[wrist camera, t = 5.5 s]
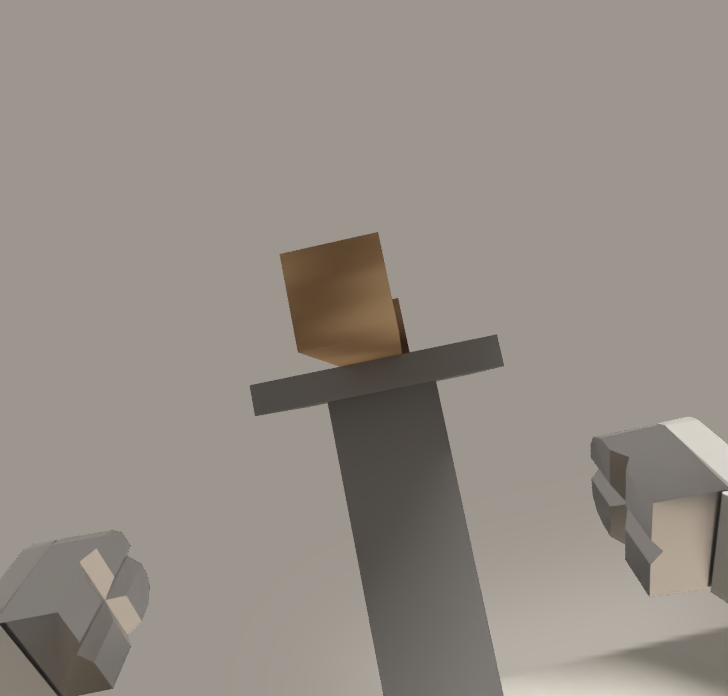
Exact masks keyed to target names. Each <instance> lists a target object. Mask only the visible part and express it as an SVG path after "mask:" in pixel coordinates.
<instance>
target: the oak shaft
mask: <svg viewBox="0 0 728 696" xmlns="http://www.w3.org/2000/svg"><path fill="white" fill-rule="evenodd" d="M280 259H281V263H282V269H283V275H284V280H285V285H286V291H287V296H288V301H289V307H290V312H291V318H292V323H293V328H294V334H295V339H296V344H297V350H298V352H299V353H302V354H305V355H308V356H310V357H313V358H316V359H319V360H322V361H325V362H328V363H331V364H334V365H337V366H340V367H342V366H346V365H351V364H356V363H361V362H366V361H371V360H375V359H380V358H385V357H390V356H395V355H400V354H405V353H409V348H408V344H407V338H406V334H405V329H404V324H403V319H402V315H401V310H400V305H399V300H398V298H396V299H392V297H391V292H390V287H389V283H388V278H387V273H386V268H385V263H384V258H383V254H382V249H381V244H380V240H379V234H378V232H376V233H372V234H367V235H363V236H358V237H354V238H350V239H345V240H341V241H337V242H332V243H327V244H323V245H318V246H314V247H309V248H306V249H300V250H296V251H292V252H287V253H283V254H280Z"/></svg>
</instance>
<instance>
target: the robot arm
mask: <svg viewBox="0 0 728 696" xmlns="http://www.w3.org/2000/svg"><path fill="white" fill-rule="evenodd" d="M591 458H592V460H593V461H594V462H595V464H596V465H597V467H598V468H599V469H598V471H597V472H596V473H595V475H594V476H593V478H592V491H593V498H594V501H595V505H596V509H597V512H598V514H599V516H600V518H601V520H602V523H603V525H604V526H605V528H606V529H607V531H608V533H609V534H610V536H611V537H612V538H614V539H616V540H618V541H620V542H621V543H623V544H625V560H626V561H627V563H628V564H629V566H630V568H631V569H632V571H633V572H634V574H635V575H636V577H637V578H638V580H639V581H640V583H641V585H642V586H643V588H644V589H645V591H646V592H647V594H648V595H649V597H655V596H662V595H669V594H676V593H683V592H690V591H697V590H704V589H711V592H712V593H713V594H715V595H717V596H718V597H719V598H721V599H723V600H724V601H725V602H727V603H728V445H727V444H726V443H725V442H724V441H723V440H721V439H720V438H719V437H718V436H717V435H715V434H714V433H713V432H712V431H711V430H709V429H708V428H707V427H706V426H704V425H703V424H702V423H701V422H700V421H699V420H697V419H695V418H692V417H685V418H680V419H675V420H671V421H666V422H661V423H657V424H656V425H651V426H646V427H641V428H636V429H631V430H626V431H621V432H616V433H611V434H606V435H601V436H596V437H593V439H592V442H591ZM130 546H131V545H130V544H129V542H128V541H127V539H126V538H125V536H124V535H123V533H122V532H118V531H113V530H111V531H105V532H99V533H94V534H88V535H82V536H76V537H70V538H64V539H60V540H55V541H49V542H43V543H38V544H33V545H32V546H30V547H28V548H26V549H24V550H23V551H22V552H21V553H20V555H19V556H18V557H17V558H16V560H15V561H14V562H13V564H12V565H11V566H10V567H9V569H8V570H7V571H6V572H5V574H4V575H3V576H2V578H1V579H0V696H79V695H84V694H89V693H94V692H99V691H103V690H109V689H113V687H114V685H115V683H116V680H117V678H118V676H119V673H120V671H121V669H122V666H123V664H124V662H125V659H126V657H127V655H128V652H129V650H130V648H131V646H130V642H129V639H128V634H129V633H130V632H131V631H132V630H133V629H134V628H135V627H136V626H137V625H138V624H139V623H140V622H141V621H142V619H143V617H144V614H145V612H146V609H147V606H148V601H149V590H150V586H149V581H148V577H147V573H146V571H145V570H144V568H143V566H142V564H141V563H139V562H137V561H136V560H134V559H132V558H130V557H128V553H129V549H130Z"/></svg>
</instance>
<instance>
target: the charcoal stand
mask: <svg viewBox="0 0 728 696" xmlns="http://www.w3.org/2000/svg"><path fill="white" fill-rule="evenodd" d="M502 366H504V364H503V359H502V355H501V351H500V346H499V342H498V337H497V335H492V336H487V337H482V338H477V339H472V340H468V341H463V342H459V343H453V344H448V345H444V346H439V347H434V348H429V349H424V350H419V351H415V352H409V353H405V354H400V355H395V356H390V357H385V358H380V359H375V360H371V361H366V362H361V363H356V364H351V365H346V366H342V367H337V368H332V369H327V370H323V371H317V372H312V373H308V374H303V375H298V376H293V377H288V378H284V379H279V380H274V381H269V382H264V383H259V384H254V385H250V390H251V395H252V401H253V407H254V413H255V416H259V415H264V414H270V413H276V412H281V411H288V410H293V409H298V408H305V407H310V406H315V405H320V404H325V403H328V406H329V412H330V417H331V422H332V427H333V432H334V438H335V443H336V448H337V454H338V459H339V464H340V469H341V475H342V480H343V485H344V490H345V496H346V501H347V506H348V511H349V517H350V522H351V527H352V532H353V537H354V542H355V548H356V553H357V558H358V564H359V569H360V574H361V579H362V585H363V590H364V595H365V600H366V606H367V611H368V616H369V621H370V627H371V632H372V637H373V642H374V647H375V653H376V658H377V663H378V669H379V674H380V679H381V684H382V690H383V695H384V696H503V691H502V687H501V682H500V677H499V673H498V668H497V663H496V659H495V654H494V649H493V645H492V640H491V635H490V631H489V626H488V621H487V617H486V612H485V608H484V603H483V598H482V593H481V589H480V585H479V580H478V575H477V571H476V566H475V561H474V557H473V552H472V547H471V542H470V538H469V533H468V529H467V524H466V519H465V514H464V510H463V505H462V500H461V496H460V492H459V487H458V482H457V477H456V472H455V468H454V463H453V458H452V454H451V449H450V445H449V440H448V435H447V431H446V426H445V422H444V417H443V412H442V407H441V403H440V398H439V394H438V389H437V384H436V381H439V380H444V379H450V378H454V377H459V376H464V375H469V374H473V373H477V372H481V371H486V370H490V369H494V368H498V367H502Z"/></svg>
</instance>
